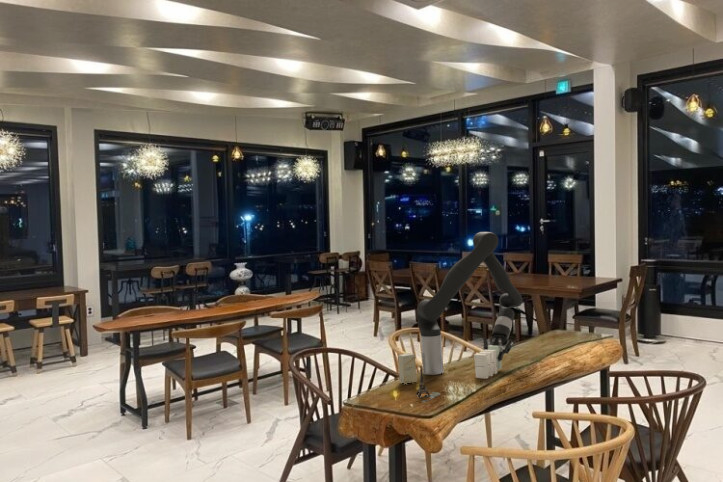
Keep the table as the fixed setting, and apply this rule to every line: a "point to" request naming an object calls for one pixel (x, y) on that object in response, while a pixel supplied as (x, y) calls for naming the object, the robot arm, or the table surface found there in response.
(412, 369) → the skincare box
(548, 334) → the table surface
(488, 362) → the ivory domino
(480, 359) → the ivory domino
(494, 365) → the ivory domino
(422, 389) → the eiffel tower figurine
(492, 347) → the sage domino
